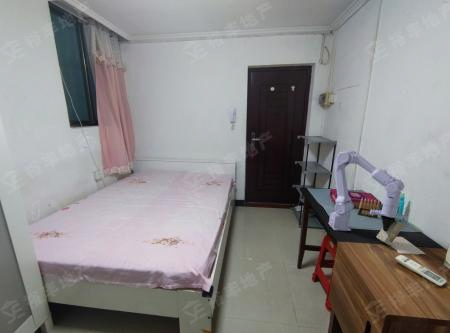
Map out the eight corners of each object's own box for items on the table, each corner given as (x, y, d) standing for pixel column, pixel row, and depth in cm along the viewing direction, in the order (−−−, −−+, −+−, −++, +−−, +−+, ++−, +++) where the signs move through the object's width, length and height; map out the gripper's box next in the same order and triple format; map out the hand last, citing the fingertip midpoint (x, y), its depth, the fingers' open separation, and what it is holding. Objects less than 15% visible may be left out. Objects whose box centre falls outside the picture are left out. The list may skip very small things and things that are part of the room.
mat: (400, 253, 101) (400, 252, 101) (380, 237, 115) (380, 236, 115) (425, 254, 101) (425, 253, 101) (401, 237, 115) (402, 236, 114)
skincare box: (383, 242, 105) (398, 221, 104) (375, 237, 109) (389, 216, 107) (390, 246, 107) (404, 225, 106) (382, 240, 111) (395, 221, 110)
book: (329, 196, 172) (330, 187, 170) (368, 201, 165) (370, 191, 164) (334, 206, 153) (336, 196, 151) (380, 212, 146) (382, 202, 144)
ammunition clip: (357, 214, 140) (361, 197, 137) (357, 213, 142) (360, 196, 139) (377, 218, 136) (381, 200, 133) (376, 217, 138) (380, 199, 135)
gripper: (406, 204, 104) (400, 229, 107) (371, 199, 109) (366, 223, 112) (412, 210, 97) (405, 237, 101) (374, 204, 103) (368, 229, 106)
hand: (384, 230), depth 106 cm, fingers closed
